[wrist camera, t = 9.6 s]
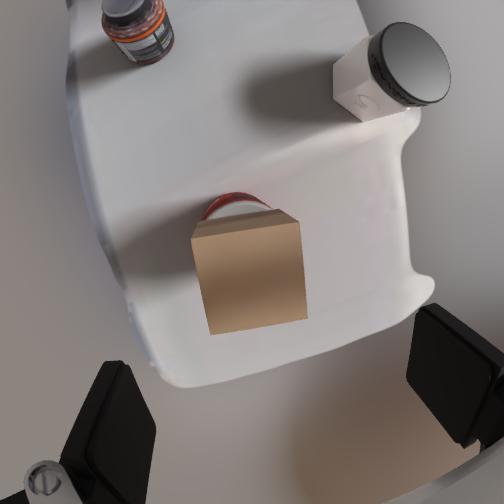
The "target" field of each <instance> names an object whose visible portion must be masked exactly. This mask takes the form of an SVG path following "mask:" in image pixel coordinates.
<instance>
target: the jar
mask: <svg viewBox="0 0 504 504" xmlns="http://www.w3.org/2000/svg"><path fill="white" fill-rule="evenodd" d="M450 83H451V73H450V67H449V64H448V61H447V59H446V56H445V54H444V52H443V51H442V49H441V47H440V46H439V45H438V43H437V42H436V41H435V40H434V39H433V38H432V37H431V36H430V35H429V34H428V33H427V32H426V31H424V30H423V29H421V28H419V27H417V26H415V25H413V24H410V23H405V22H397V23H392V24H390V25H388V26H387V27H386V28H384V29H383V30H381V31H380V32H379V33H377V34H376V35H372V36H368V37H366V38H365V39H363V40H362V41H361V42H360V43H358V44H357V45H356V46H355V47H353V48H352V49H351V50H350V51H349V52H347V53H346V54H345V55H344V56H343V57H341V58H340V59H339V60H338V61H337V62H335V63H334V64H333V99H334V100H335V101H336V102H338V103H339V104H340V105H342V106H343V107H344V108H346V109H347V110H348V111H350V112H351V113H352V114H353V115H355V116H356V117H357V118H359V119H360V120H361V121H362V122H366V121H369V120H373V119H376V118H380V117H384V116H388V115H391V114H395V113H399V112H403V111H407V110H409V109H411V108H414V107H420V106H422V107H423V106H428V105H431V104H434V103H436V102H439V101H440V100H442V99H443V98H444V97H445V96H446V94H447V92H448V90H449V88H450Z"/></svg>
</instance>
